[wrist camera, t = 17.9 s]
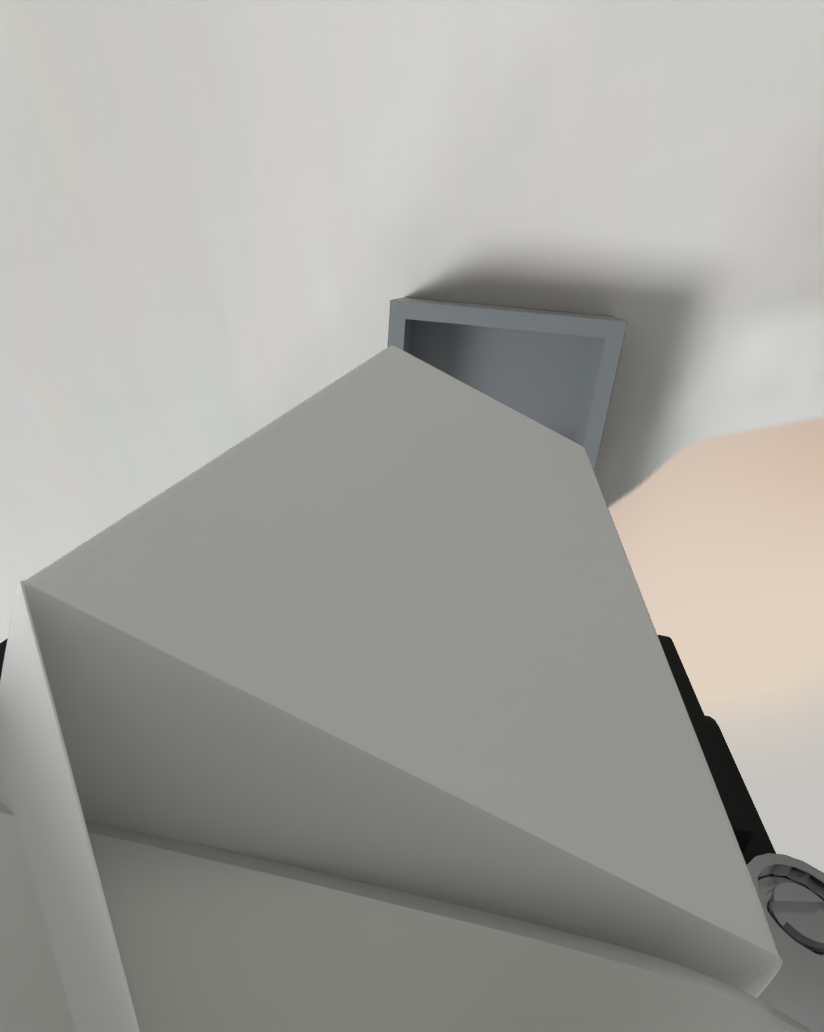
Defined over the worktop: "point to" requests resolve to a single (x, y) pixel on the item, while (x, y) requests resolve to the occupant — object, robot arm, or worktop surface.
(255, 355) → the worktop surface
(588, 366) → the tote
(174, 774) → the milk carton
